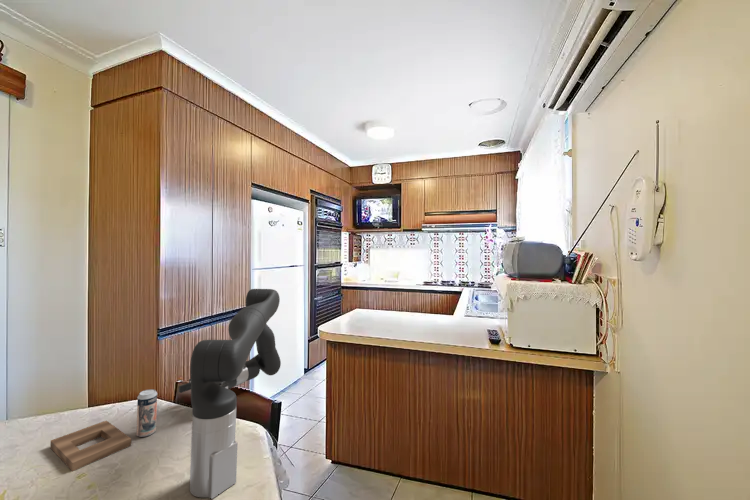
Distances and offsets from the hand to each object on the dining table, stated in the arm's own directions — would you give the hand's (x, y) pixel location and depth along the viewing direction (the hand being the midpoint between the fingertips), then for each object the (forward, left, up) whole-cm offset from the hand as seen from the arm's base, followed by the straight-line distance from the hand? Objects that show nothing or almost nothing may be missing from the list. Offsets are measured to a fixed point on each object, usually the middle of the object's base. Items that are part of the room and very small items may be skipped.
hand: (186, 393), depth 102 cm
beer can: (0, +11, -8) cm, 14 cm away
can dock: (+5, +22, -7) cm, 24 cm away
